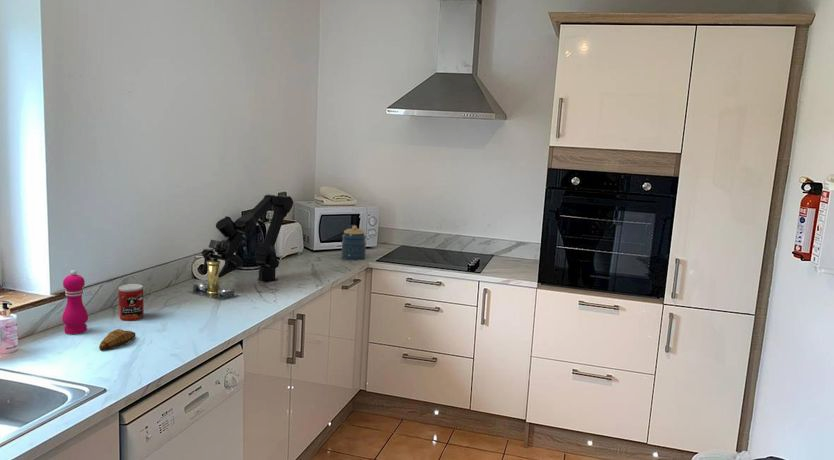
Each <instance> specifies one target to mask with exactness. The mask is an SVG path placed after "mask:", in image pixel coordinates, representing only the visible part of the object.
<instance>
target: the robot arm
mask: <svg viewBox="0 0 834 460" xmlns="http://www.w3.org/2000/svg"><path fill="white" fill-rule="evenodd" d="M293 205H294V200H293V198H292V197H291V196H289V195H282V194H281V195H280V194H278V195H274V194H266V195H264V196H263V198H262V200H260V201H259V202H258V203H257V204H256V205H255V206H254V207H253V208H252V209H251V210H250V211H249V212H248V213H246V214H244V215H241V216H239V217H238V218H237V219H236V220H235V221H233V220H232V218H231V217H230V216H228V215H227V216H224V218H221V219H219V220H218V221H217V222H216V224H215V228H216V229H217V230H218V231H219V233H220V234H221V235H222V236H223V237H224V238H226V239H222V240H221V241H219V240H215V239H210V241H209V245H208V248H204V249H203V250H202V251H201V252H200V253H201V255H202V257H203V260H204V261H203V266H202V270H201V273H202V274H203V275H205V273H208V265H207V261H209V260H218V261H220V260H221V261H223V262H224V265H223V266H222V268H221V270H219V275H218V277H219V279H220V278H222V277H224V276H225V275H227V274H229V273H230V272H232V271H234V270H238V269H241V268H242V267H243V265H244V260H243V259H241V257H240V256H239V255H238V252H239V250H238V248H239V247H240V245H241V244H242V243H248V239H247V235H244V234H251V233H253V231H254V230H255V229H256V227H257V223H258V221H259V220H260V219H261V218H262V217H263V216H264V215H265V214H266V213H267V212H268V211H269V210H270V209H271V208H272V210H273V211H272V212H273V215H272V218H271V220H270V223H269V226H268V229H267V230H266V231H267V232H266V233H265V234H266V235H265V238H264V239H263V243H262V244H257V245H256V249H255V251H254V261H255V264H256V266H257V267H259V270H258V277H257V280H258V281H261V282H264V283H269V282H274V281H278V278H276V269H277V268H278V267H279V265H280V262H279V260H278V259H277V258H276V254H277V252H276V251H277V250H276V247H275V246H276V243H277V239H278V237H279V233H280V231H281V229H282V228H281V227H282V225H283V222H284V219H285V217H286V216H287V215H288V214H289V213H290V212H291V210H292V208H293Z"/></svg>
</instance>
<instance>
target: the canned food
mask: <svg viewBox="0 0 834 460" xmlns="http://www.w3.org/2000/svg"><path fill="white" fill-rule="evenodd" d="M118 311H119V312H118V313H119V315H118V316H119V319H120V320H121V321H124V322H125V321H126V322H130V321H131V322H133V321H138V320H141V319H143V317H144V312H145V308H144V286H143V285H142V284H139V283H129V284H127V283H126V284H123V285H120V286H119V287H118Z"/></svg>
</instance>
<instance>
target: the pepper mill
mask: <svg viewBox="0 0 834 460" xmlns="http://www.w3.org/2000/svg"><path fill="white" fill-rule="evenodd" d="M77 273H78V271H77V270H76V269H72V270H70V275H68V276H67V275H66V277H64V278H63V281H62V287H63V288H64V289H65V290H64V291H65V292H64V293H65V295H64V296H66V299H67V300H66V304H65V305H66V306H65V308H64V311H63V313H62V316H61V317H62V319H61V320H62V321H61V322H62V323H63V324H64V325H65V326H64V327H63V328H64V333H65V334H67V335H79V334H83V333H85V332H87V331H88V325H87V324H86V323H87V322H88V320H89V314H88V310H86V308H85V305H84V304H83V298H82V297H83V294H84V289H83V288H84V287H85V282H86V280H85V279H84V277H83V276H81V275H79V274H77Z"/></svg>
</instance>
